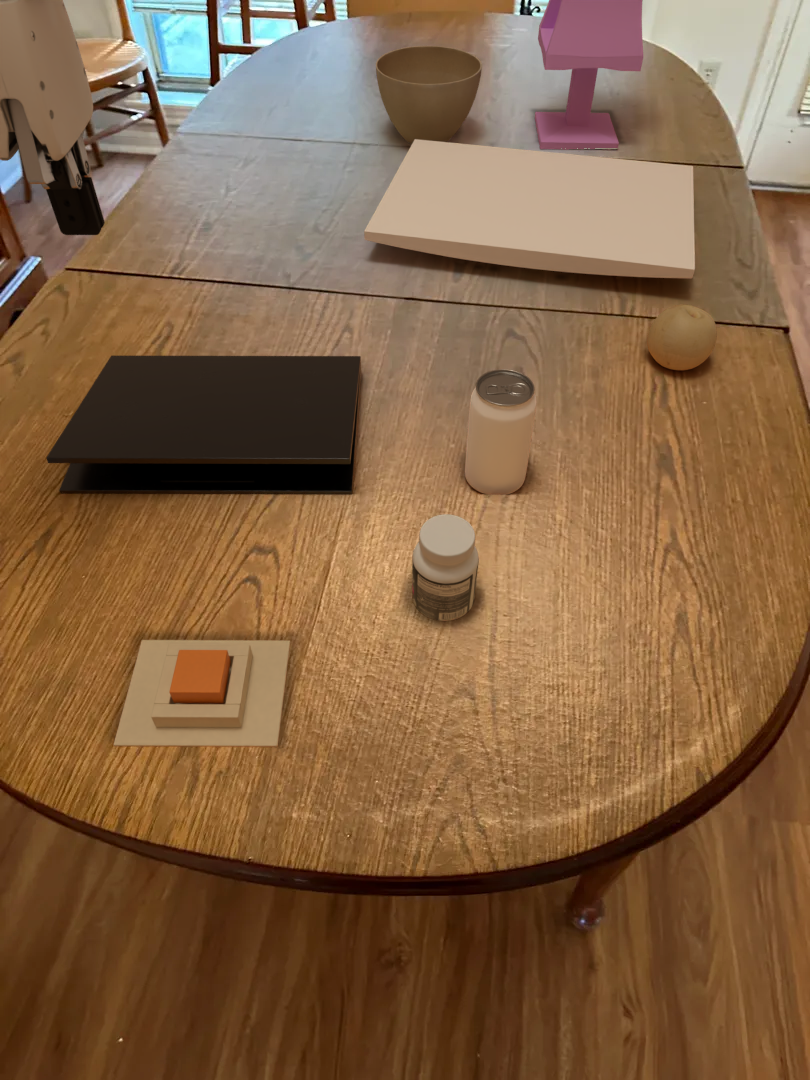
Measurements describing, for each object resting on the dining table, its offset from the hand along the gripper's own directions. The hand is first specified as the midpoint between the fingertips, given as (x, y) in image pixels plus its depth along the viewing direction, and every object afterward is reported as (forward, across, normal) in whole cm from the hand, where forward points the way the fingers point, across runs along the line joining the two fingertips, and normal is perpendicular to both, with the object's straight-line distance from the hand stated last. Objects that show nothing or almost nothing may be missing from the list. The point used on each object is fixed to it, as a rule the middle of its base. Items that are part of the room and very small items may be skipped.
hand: (83, 229), depth 64 cm
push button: (+24, +28, +10) cm, 38 cm away
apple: (+27, -20, +60) cm, 69 cm away
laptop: (+27, -6, +6) cm, 28 cm away
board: (+27, -54, +46) cm, 76 cm away
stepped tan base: (+27, +28, +10) cm, 40 cm away
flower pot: (+27, -87, +30) cm, 96 cm away
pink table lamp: (+27, -89, +57) cm, 109 cm away
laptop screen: (+24, -6, +6) cm, 25 cm away
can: (+27, +1, +36) cm, 45 cm away
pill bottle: (+27, +18, +30) cm, 44 cm away
